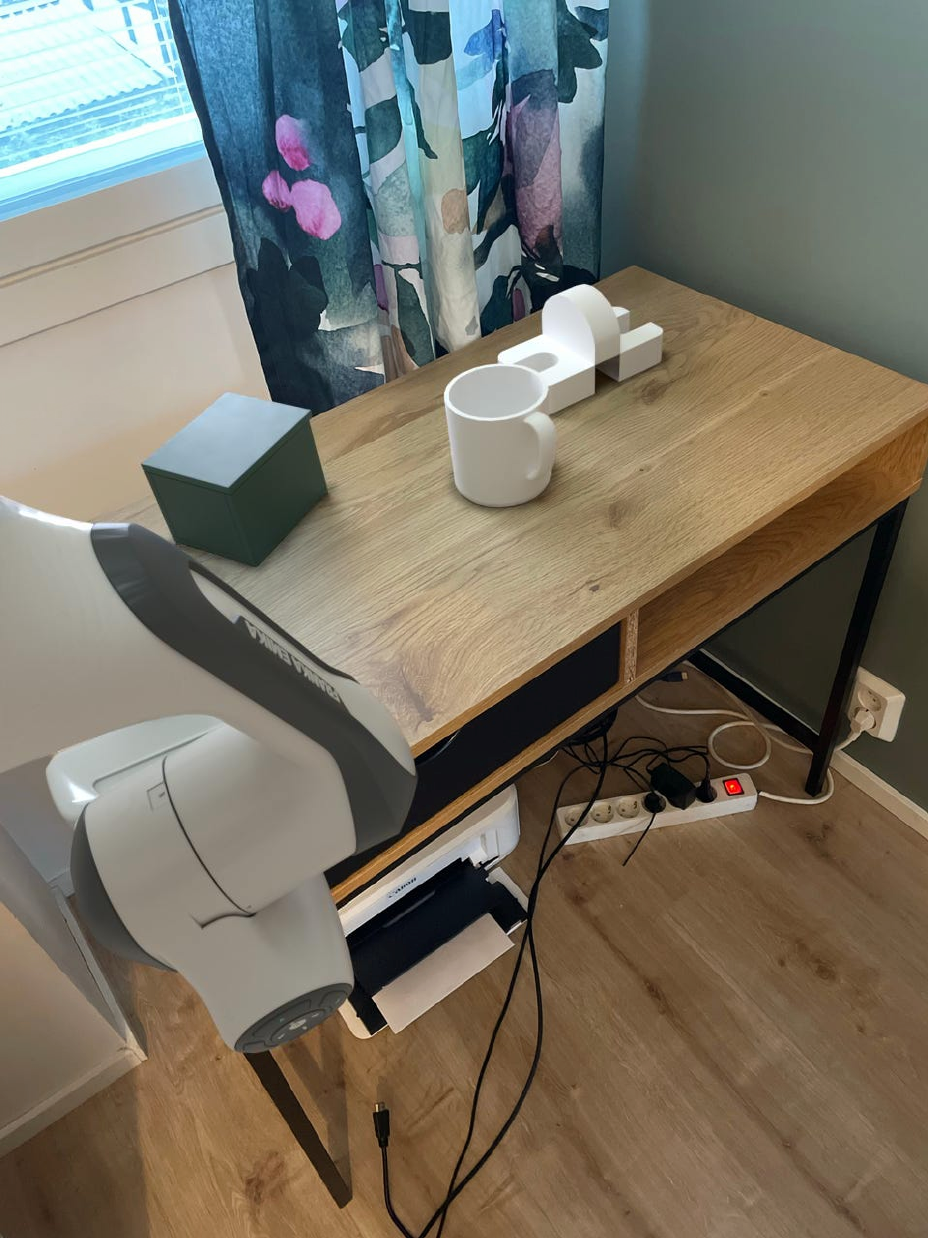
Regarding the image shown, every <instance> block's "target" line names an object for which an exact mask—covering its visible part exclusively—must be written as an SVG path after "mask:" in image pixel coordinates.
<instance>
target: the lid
mask: <svg viewBox="0 0 928 1238" xmlns="http://www.w3.org/2000/svg"><path fill="white" fill-rule="evenodd" d="M312 418H313V412H312V409H308V408H303V407H298V406H293V405H289V404H285V403H281V402H275V401H271V400H267V399H262V398H258V397H253V396H248V395H244V394H240V393H236V392H231V391H226V392H225V393H224V394H223V395H221V396H220V397H219V398H218V399H216V400H215V401H214V402H213V403H212V404H210V405H208V407H207V408H206V409H204V410H203V411H202V412H201V413H200V414H198V415H197V416H196V417H195V418H194V419H193V420H191V421H190V422H189V423H188V424H186V425H185V426H184V427H183V428H182V429H180V430H179V431H178V432H176V434H175V435H173V436H172V437H171V438H170V439H169V440H167V441H166V442H165V443H164V444H163V445H162V446H160V447H159V448H157V450H155V451H154V452H153V453H151V455H149V456H148V457H147V458H146V459H145V460H143V461H142V462H141V463H140V466H141V468H142V471H143V472H144V471H147V472H151V473H155V474H158V475H162V476H165V477H169V478H173V479H176V480H180V481H183V482H187V483H190V484H194V485H198V486H201V487H205V488H208V489H212V490H216V491H219V492H223V493H226V494H232V493H233V492H234V491H235V490H236V489H237V488H238V487H239V486H240V485H241V484H242V483H243V482H244V481H246V480H247V479H248V478H249V477H250V476H251V475H252V474H253V473H254V472H255V471H256V470H257V469H258V468H259V467H260V466H261V465H262V464H263V463H264V462H266V461H267V460H268V459H269V458H270V457H271V456H272V455H273V454H274V453H275V452H276V451H277V450H278V449H279V448H280V447H281V446H282V445H283V444H285V443H286V442H287V441H288V440H289V439H290V438H291V437H292V436H293V435H294V434H295V433H296V432H297V431H298V430H299V429H300V428H301V427H302V426H304V425H305V424H306V423H307V422H308V421H311V419H312Z"/></svg>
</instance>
